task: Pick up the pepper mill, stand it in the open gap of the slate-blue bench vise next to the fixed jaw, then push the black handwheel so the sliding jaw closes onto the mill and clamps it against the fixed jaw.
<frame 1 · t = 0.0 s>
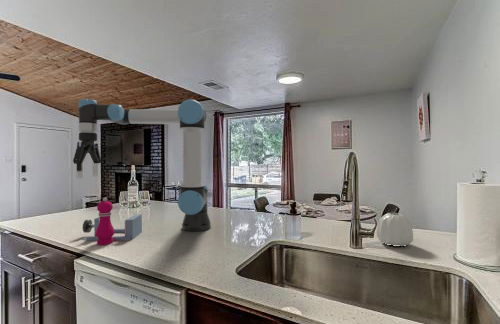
hand: (88, 177, 131), 28 cm above the worktop, fingers open, 13 cm apart
white pumpkin: (394, 245, 119), on the worktop
vise: (118, 235, 131), on the worktop
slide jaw: (95, 226, 131), point 5 cm above the worktop, slide at 0.0 cm
pepper mill: (105, 243, 120), on the worktop
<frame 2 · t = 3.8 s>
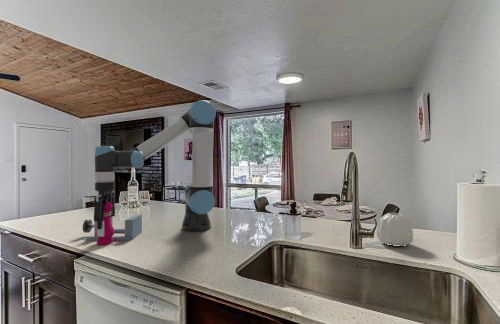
hand: (105, 233, 120), 4 cm above the worktop, fingers closed on pepper mill, 7 cm apart
pepper mill: (105, 243, 120), on the worktop, touching gripper
everything else where it was.
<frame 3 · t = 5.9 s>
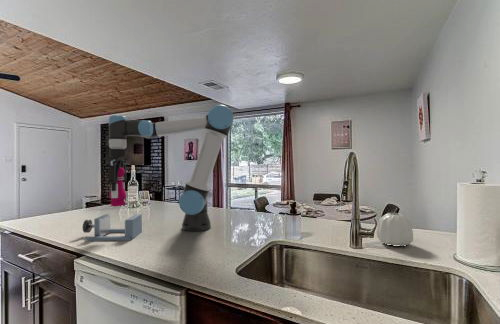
hand: (118, 196, 131), 19 cm above the worktop, fingers closed on pepper mill, 7 cm apart
pepper mill: (118, 205, 131), point 15 cm above the worktop, touching gripper
everything else where it was.
when the fingers open (5 cm above the worktop, at t = 8.4 s): pepper mill stays where it is, resting in vise.
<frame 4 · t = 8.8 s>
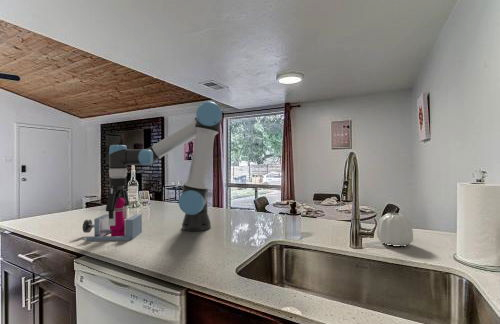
hand: (118, 222, 131), 7 cm above the worktop, fingers open, 13 cm apart
pepper mill: (118, 236, 131), resting in vise
everything else where it was.
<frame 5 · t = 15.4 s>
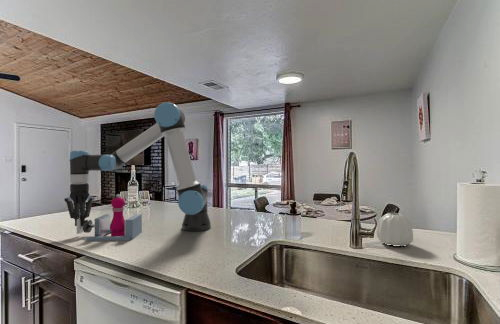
hand: (80, 232, 130), 2 cm above the worktop, fingers closed
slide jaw: (95, 226, 131), point 5 cm above the worktop, slide at 0.1 cm, touching gripper
everything else where it was.
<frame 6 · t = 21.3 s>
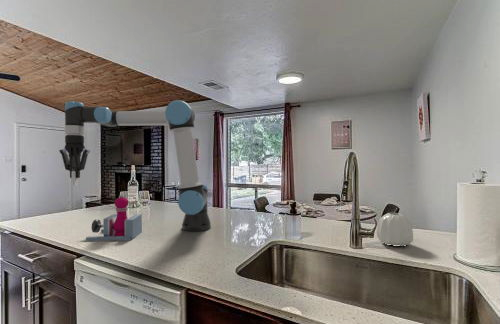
hand: (75, 185, 130), 24 cm above the worktop, fingers closed
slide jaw: (104, 226, 131), point 5 cm above the worktop, slide at 4.1 cm, touching pepper mill
pepper mill: (121, 236, 131), resting in vise, touching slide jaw
everything else where it was.
at the end: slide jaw slide at 4.1 cm; pepper mill 1.7 cm from the vise (horizontally); pepper mill tilted 0° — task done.
